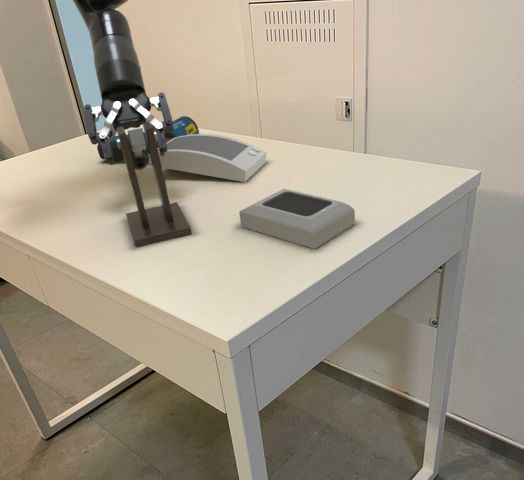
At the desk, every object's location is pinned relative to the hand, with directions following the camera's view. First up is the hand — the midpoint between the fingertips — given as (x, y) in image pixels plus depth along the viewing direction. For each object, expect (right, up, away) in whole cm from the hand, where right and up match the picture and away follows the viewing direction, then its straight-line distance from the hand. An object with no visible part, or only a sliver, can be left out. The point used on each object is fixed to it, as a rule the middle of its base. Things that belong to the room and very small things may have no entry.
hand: (137, 158), depth 92 cm
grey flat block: (+26, -13, -7) cm, 30 cm away
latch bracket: (+4, -12, -2) cm, 13 cm away
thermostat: (+10, +4, +18) cm, 21 cm away
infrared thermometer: (-4, +12, +32) cm, 35 cm away
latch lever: (+2, -2, -5) cm, 5 cm away
